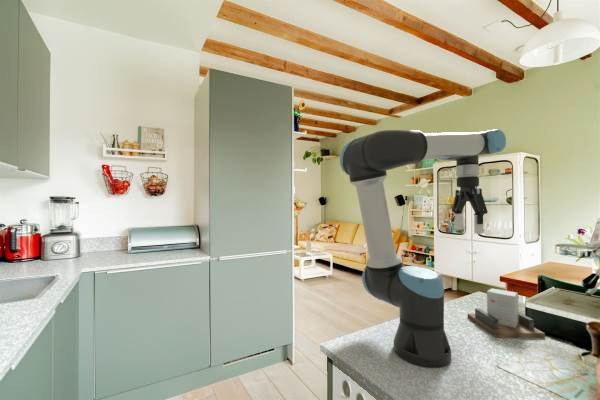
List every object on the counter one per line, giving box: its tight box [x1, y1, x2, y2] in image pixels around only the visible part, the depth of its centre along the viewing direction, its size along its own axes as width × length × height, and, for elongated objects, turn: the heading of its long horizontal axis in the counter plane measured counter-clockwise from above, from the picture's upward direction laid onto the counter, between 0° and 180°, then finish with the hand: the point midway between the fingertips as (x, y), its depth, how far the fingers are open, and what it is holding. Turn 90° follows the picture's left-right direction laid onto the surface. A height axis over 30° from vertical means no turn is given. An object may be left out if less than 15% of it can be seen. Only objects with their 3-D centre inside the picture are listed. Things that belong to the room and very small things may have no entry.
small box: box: [486, 287, 519, 328], centre depth 98 cm, size 8×6×10 cm
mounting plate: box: [467, 308, 546, 339], centre depth 98 cm, size 15×16×4 cm
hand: (468, 231), depth 110 cm, fingers open, 13 cm apart
